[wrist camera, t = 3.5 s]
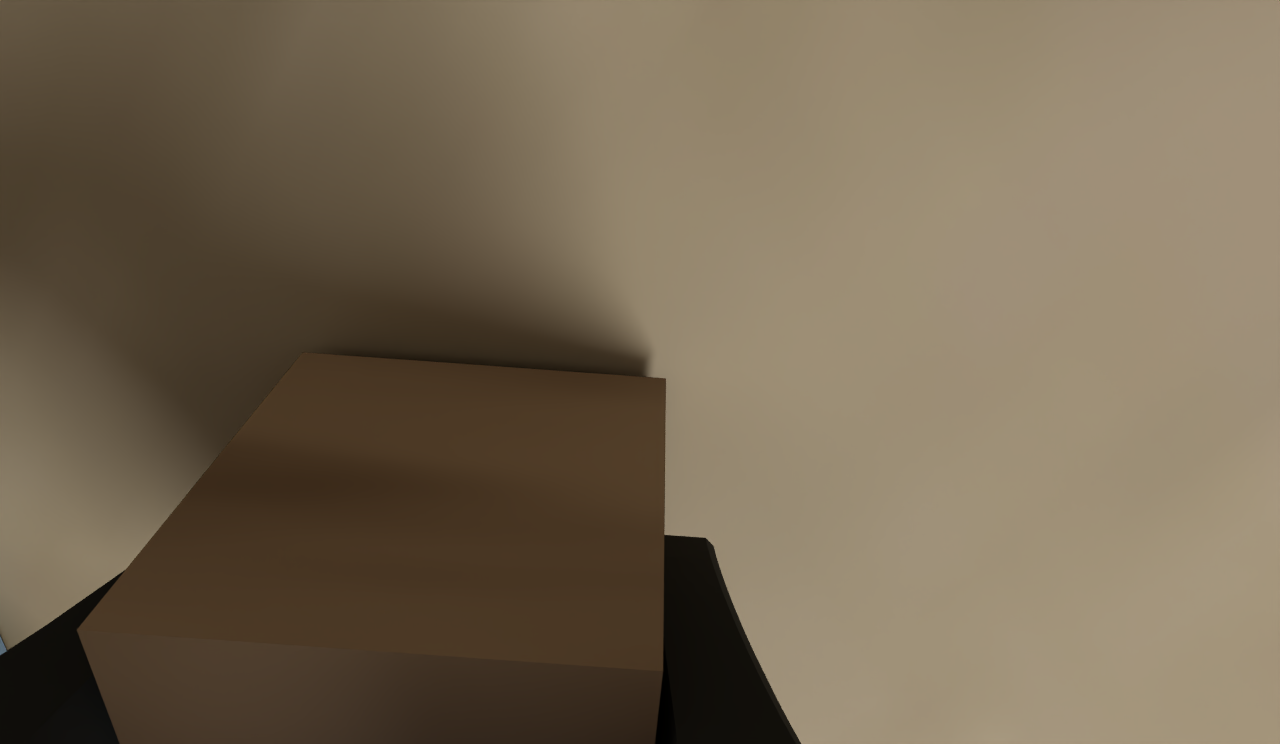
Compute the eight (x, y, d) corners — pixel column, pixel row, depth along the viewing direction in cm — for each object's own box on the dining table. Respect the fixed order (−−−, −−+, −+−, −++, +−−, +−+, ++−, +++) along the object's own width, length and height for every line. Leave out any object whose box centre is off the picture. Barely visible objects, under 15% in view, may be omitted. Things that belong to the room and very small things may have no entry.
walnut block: (641, 636, 13) (629, 970, 9) (343, 615, 12) (193, 940, 9) (665, 378, 10) (663, 671, 6) (302, 352, 10) (76, 630, 6)
